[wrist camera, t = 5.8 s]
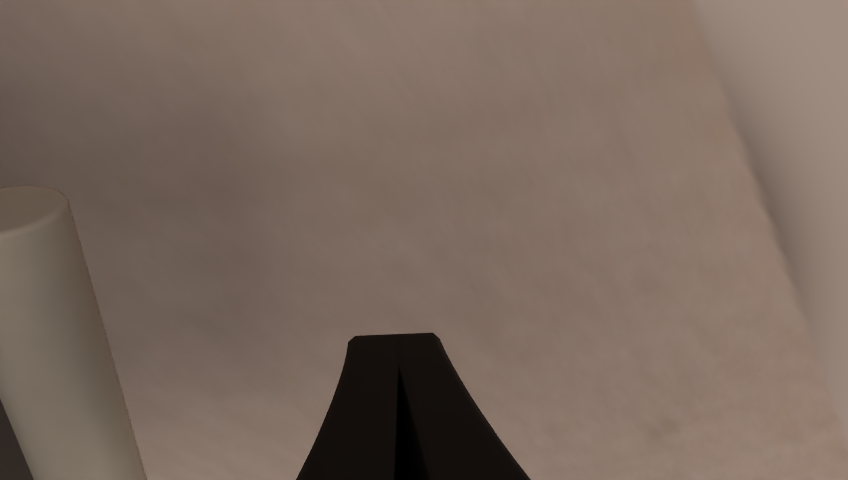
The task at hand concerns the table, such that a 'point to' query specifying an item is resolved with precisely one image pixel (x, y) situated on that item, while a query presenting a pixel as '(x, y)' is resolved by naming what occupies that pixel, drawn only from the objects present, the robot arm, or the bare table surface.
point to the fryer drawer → (55, 352)
